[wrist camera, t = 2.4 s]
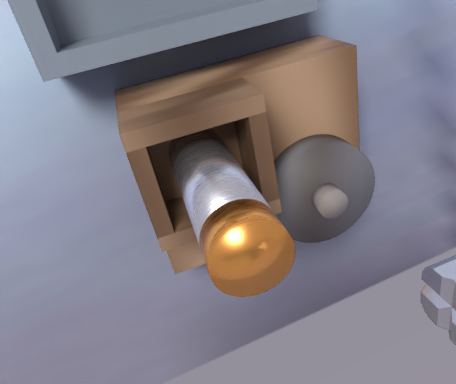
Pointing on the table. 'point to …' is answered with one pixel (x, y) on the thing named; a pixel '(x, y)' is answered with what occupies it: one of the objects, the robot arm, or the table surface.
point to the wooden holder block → (256, 138)
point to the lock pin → (229, 217)
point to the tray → (133, 27)
